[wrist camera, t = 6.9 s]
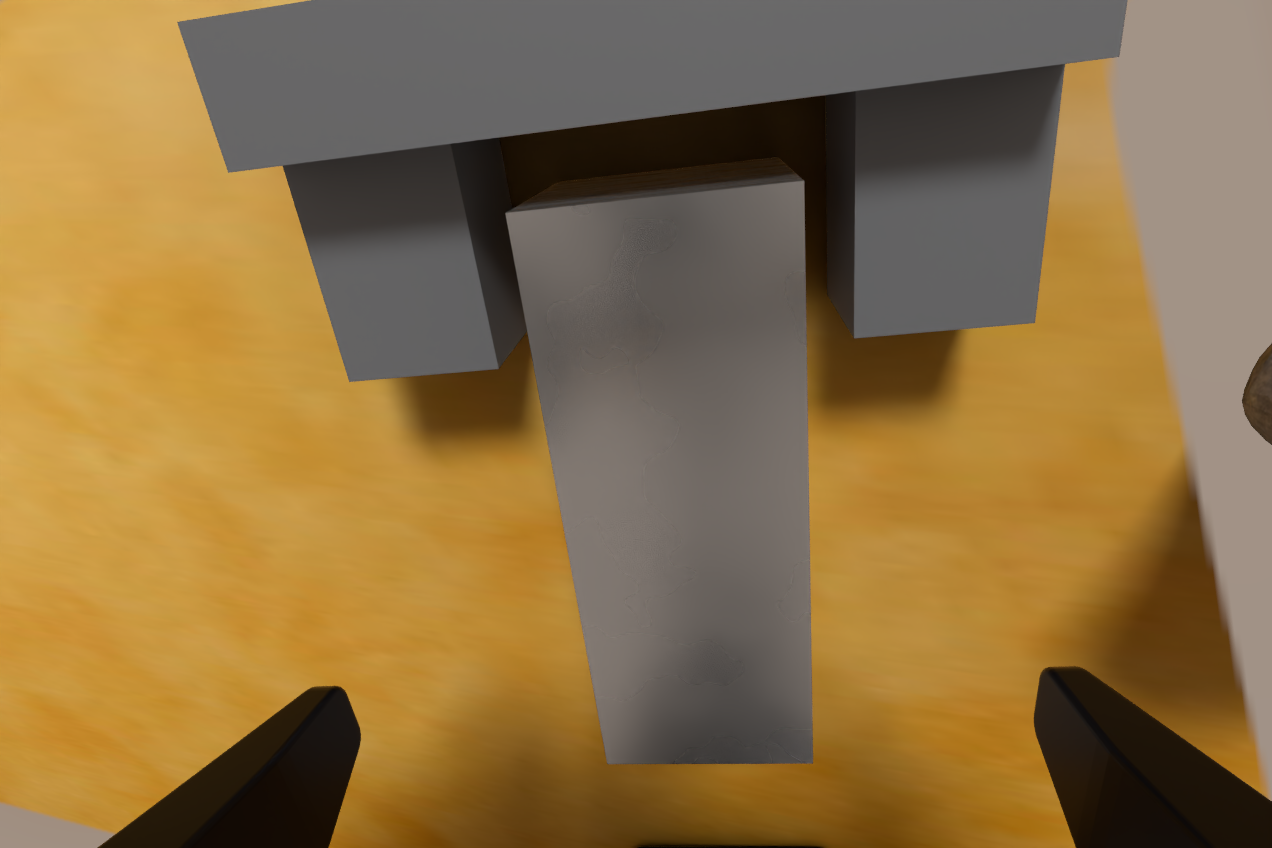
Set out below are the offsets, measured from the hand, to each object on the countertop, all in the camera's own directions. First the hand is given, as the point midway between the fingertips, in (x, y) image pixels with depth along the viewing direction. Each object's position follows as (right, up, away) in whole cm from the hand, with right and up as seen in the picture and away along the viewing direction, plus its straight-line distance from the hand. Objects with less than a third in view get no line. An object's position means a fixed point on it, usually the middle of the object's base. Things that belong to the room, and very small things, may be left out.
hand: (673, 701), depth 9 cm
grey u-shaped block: (0, +9, +5) cm, 10 cm away
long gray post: (+1, +3, +8) cm, 9 cm away
